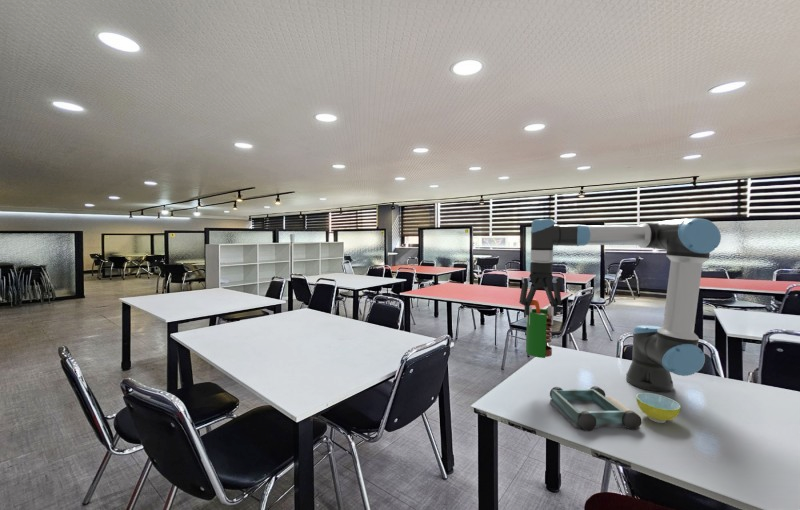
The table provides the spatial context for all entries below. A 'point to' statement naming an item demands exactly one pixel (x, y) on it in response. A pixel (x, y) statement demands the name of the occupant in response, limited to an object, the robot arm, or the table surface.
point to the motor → (538, 332)
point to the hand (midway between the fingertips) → (539, 323)
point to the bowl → (658, 407)
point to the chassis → (592, 409)
